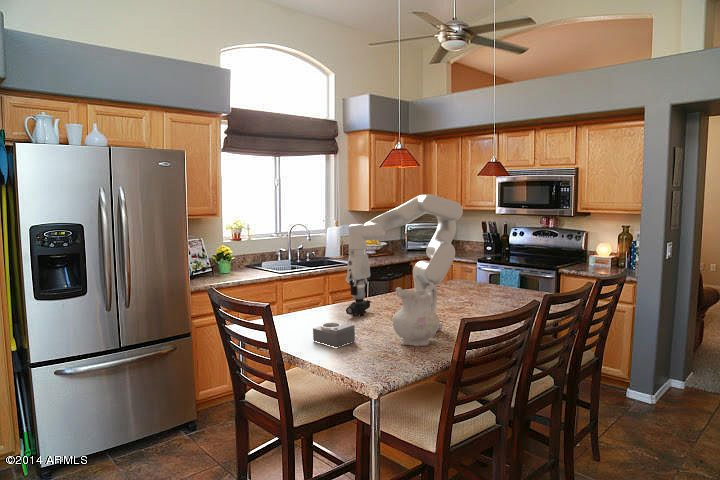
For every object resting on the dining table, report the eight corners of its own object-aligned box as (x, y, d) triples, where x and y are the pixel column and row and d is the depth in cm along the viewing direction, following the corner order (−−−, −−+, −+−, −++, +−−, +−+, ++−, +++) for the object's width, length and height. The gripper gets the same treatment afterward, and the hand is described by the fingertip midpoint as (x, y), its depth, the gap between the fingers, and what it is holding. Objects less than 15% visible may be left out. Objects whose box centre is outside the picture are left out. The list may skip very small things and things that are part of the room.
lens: (367, 297, 216) (367, 279, 215) (359, 300, 212) (358, 281, 211) (358, 296, 219) (358, 277, 218) (350, 298, 215) (349, 279, 214)
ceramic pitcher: (414, 334, 222) (409, 279, 221) (452, 338, 210) (448, 280, 209) (385, 347, 206) (380, 288, 204) (425, 352, 193) (420, 289, 192)
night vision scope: (349, 323, 247) (337, 309, 250) (368, 316, 262) (356, 302, 265) (358, 313, 243) (345, 298, 247) (376, 306, 258) (364, 292, 262)
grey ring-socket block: (354, 342, 209) (354, 323, 208) (336, 348, 201) (335, 329, 200) (331, 336, 219) (331, 318, 218) (313, 342, 211) (312, 323, 210)
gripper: (350, 255, 204) (351, 298, 206) (377, 251, 217) (378, 291, 219) (337, 254, 210) (338, 296, 211) (364, 249, 222) (365, 289, 224)
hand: (358, 293), depth 215 cm, fingers closed on lens, 5 cm apart
